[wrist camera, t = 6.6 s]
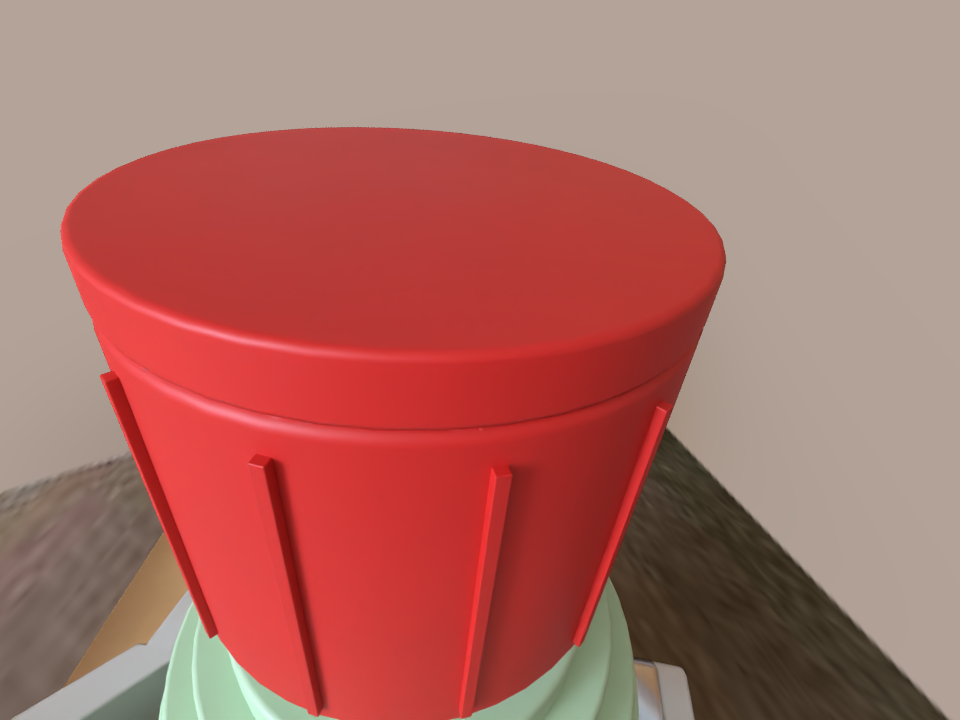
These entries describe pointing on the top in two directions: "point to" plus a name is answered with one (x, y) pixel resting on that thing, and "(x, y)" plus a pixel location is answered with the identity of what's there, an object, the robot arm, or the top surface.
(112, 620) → the cork coaster
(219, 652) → the sauce bottle
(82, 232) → the red cap
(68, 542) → the top surface
